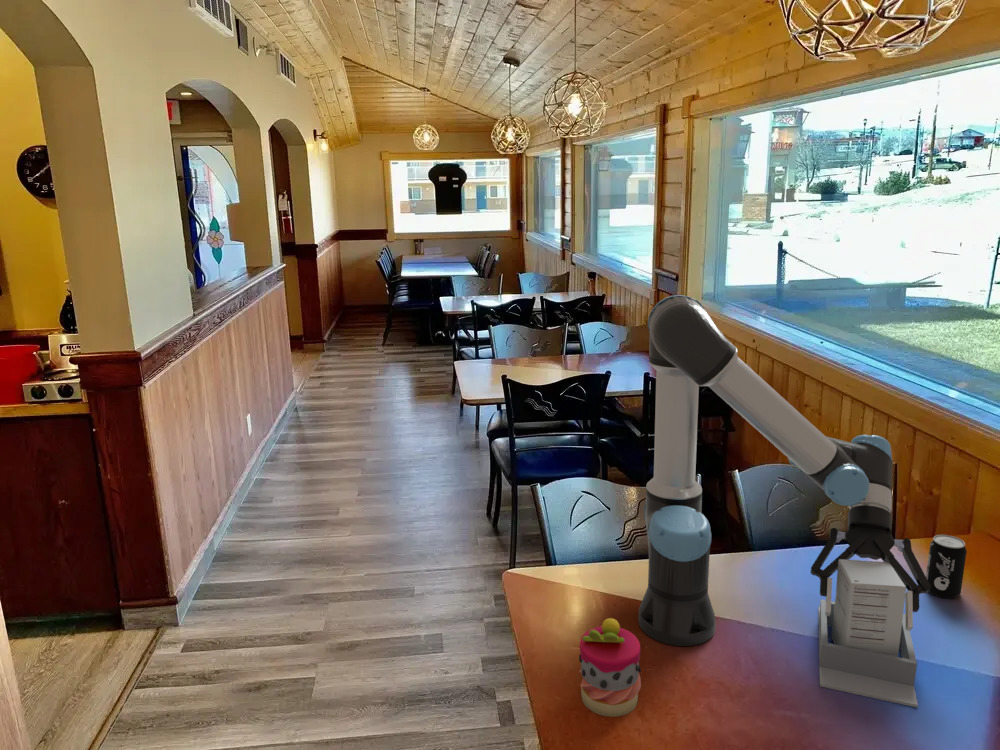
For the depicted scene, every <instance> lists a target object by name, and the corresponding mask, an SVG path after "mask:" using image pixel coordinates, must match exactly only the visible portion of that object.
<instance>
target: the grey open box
mask: <svg viewBox="0 0 1000 750" xmlns="http://www.w3.org/2000/svg"><path fill="white" fill-rule="evenodd" d="M834 606H835V601H832V600H831V613H830V616H825V609H826V599H820V604H819V605H818V608H817V609H818V654H819V655H818V658H819V660H818V661H819V664H818V665H819V666H818V667H819V668H818V669H819V687H822V688H825V689H830V690H835V691H840V692H845V693H850V694H854V695H857V696H858V695H859V696H863V697H868V698H872V699H876V700H881V701H885V702H891V703H895V704H900V705H904V706H908V707H912V708H916V709H917V708H918V706H919V703H918V698H917V694H916V690H915V683H916V677H917V676H916V675H917V666H918V662H917V658H916V657H917V656H916V654H915V653H916V652H915V648H914V643H913V639H912V636H911V635H912V634H911V631H907V630H906V621H905V613H903V619H902V628H901V636H900V645H899V653H900V652H901V653H900V656H898V657H896V656H891V655H886V654H881V653H876V652H871V651H866V650H861V649H855V648H850V647H845V646H840V645H835V644H834V643H830V642H828V640H829V639H828V627H831V628H833V617H834ZM901 657H902V658H901Z"/></svg>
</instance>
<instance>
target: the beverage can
mask: <svg viewBox="0 0 1000 750" xmlns="http://www.w3.org/2000/svg"><path fill="white" fill-rule="evenodd" d="M967 551H968V550H967V548H966V543H965V541H964V540H963V539H961V538H959V537H957V536H953V535H950V534H949V535H948V534H937V535H934V536H933V538H932V541H931V542H930V544H929V551H928V557H927V558H928V559H927V566H926V574H925V576H926V578H927V580H928V582H929V584H930V586H931V589H930V590H929V591H928V593H930V594H932V595H934V596H935V597H938V598H941V599H942V598H943V599H955V598H957V597H958V596H960V595H961V594H962V593H961V592H962V589H963V588H962V586H963V580H964V579H963V578H964V572H965V564H966V558H967Z"/></svg>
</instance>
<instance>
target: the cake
mask: <svg viewBox="0 0 1000 750" xmlns="http://www.w3.org/2000/svg"><path fill="white" fill-rule="evenodd" d="M579 651H580V654H579V655H578V660H579V661H578V662H579V663H580V669H579V671H578V672H579V673H580V675H581V677H582V679H581V683H580V685H579V686H580V697H581V701H582V703H583V705H584V706H585V708H587V709H588V710H590V711H591V713H594V714H597V715H599V716H602V717H609V718H614V717H615V718H616V717H622V716H625V715H628V714H630V713H631V712H633V711H634V710H635V709H636V707H637V705H638V700H639V693H640V690H641V688H642V682H641V681H642V678H641V676H640V673H641V672H642V668H641V666H640V663H639V662H641V661H640V660H641V643H640V641H639V639H638V638H637V636H636V635H635V634H634V633H632V632H631V631H630V630H628V629H625V628H622V627H621V626H620V623H619V622H618V620H617V619H615V618H612V617H609V618H606V619H604V620H603V621H602V625H601V626H596V627H595V626H594V627H593V628H589V630H587V631H585V632H584V634H583V635H582V636H581V637H580V640H579Z"/></svg>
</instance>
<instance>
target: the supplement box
mask: <svg viewBox="0 0 1000 750" xmlns="http://www.w3.org/2000/svg"><path fill="white" fill-rule="evenodd" d="M836 572H837V573H836V574H837V575H836V583H835V587H836V588H835V599H834V602H835V606H834V617H833V627H831V628H832V629H831V639H832V640H833V644H835V645H840V646H845V647H850V648H855V649H861V650H866V651H871V652H876V653H881V654H886V655H891V656H896V657H899V653H900V647H899V645H900V636H901V628H902V619H903V614H904V611H905V610H904V609H905V594H906V592H907V588H906V586H905V585H904V583H903V582H902V581H901V579H900V578H899V576H898V575H897V573H896V572H895V570H894V569H893V567H892V566H891V564H890V563H888V562H884V561H878V560H873V561H872V560H858V559H849V560H845V559H839V560H838V570H837V571H836Z"/></svg>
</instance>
